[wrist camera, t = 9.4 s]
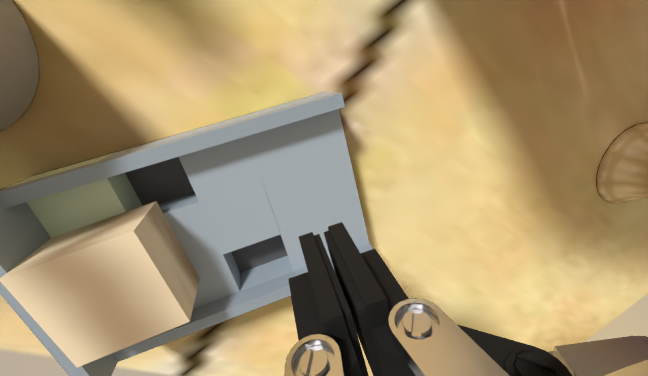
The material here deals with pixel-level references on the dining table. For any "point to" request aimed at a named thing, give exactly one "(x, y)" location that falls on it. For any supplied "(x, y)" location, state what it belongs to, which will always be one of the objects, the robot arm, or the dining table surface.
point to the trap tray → (204, 208)
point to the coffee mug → (16, 64)
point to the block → (107, 284)
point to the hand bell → (625, 167)
